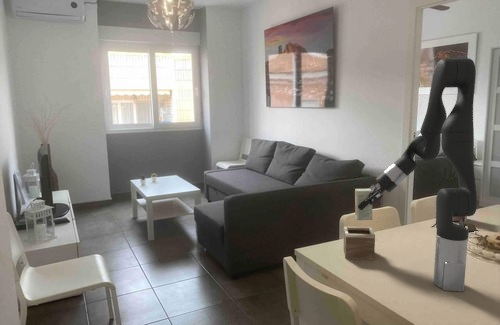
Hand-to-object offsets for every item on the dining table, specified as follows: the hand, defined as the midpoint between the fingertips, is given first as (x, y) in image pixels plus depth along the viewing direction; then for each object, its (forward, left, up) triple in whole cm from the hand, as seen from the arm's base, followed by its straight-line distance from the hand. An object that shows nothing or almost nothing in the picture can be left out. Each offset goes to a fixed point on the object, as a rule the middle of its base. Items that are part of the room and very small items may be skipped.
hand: (358, 206), depth 148 cm
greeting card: (+47, -57, -20) cm, 77 cm away
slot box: (-1, 0, -20) cm, 20 cm away
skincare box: (0, -2, -5) cm, 6 cm away
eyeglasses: (+32, -47, -20) cm, 60 cm away
